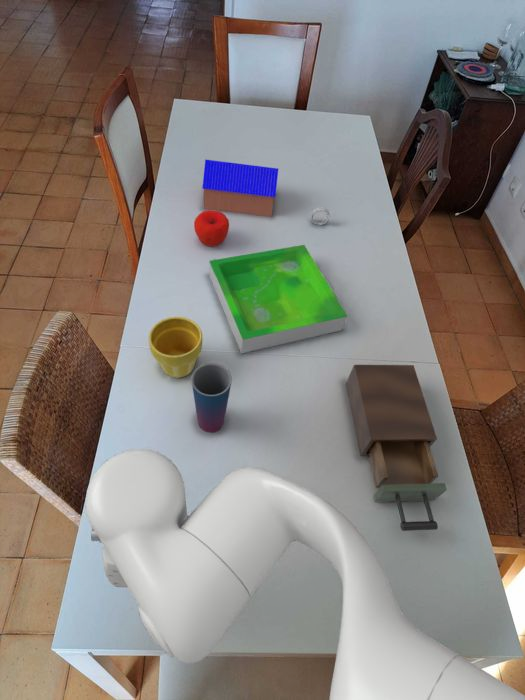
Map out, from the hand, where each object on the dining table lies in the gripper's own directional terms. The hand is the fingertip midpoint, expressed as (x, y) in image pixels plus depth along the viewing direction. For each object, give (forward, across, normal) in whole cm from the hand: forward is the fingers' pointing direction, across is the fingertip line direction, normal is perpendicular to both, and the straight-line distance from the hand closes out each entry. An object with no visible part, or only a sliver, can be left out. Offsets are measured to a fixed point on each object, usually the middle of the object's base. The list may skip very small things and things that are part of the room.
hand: (163, 572), depth 58 cm
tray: (+15, +21, +62) cm, 67 cm away
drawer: (+14, +41, +18) cm, 47 cm away
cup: (+15, +6, +30) cm, 34 cm away
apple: (+16, +6, +83) cm, 85 cm away
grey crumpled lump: (+16, +36, +93) cm, 101 cm away
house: (+16, +14, +102) cm, 104 cm away
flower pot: (+16, -1, +43) cm, 46 cm away
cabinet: (+15, +41, +30) cm, 53 cm away
